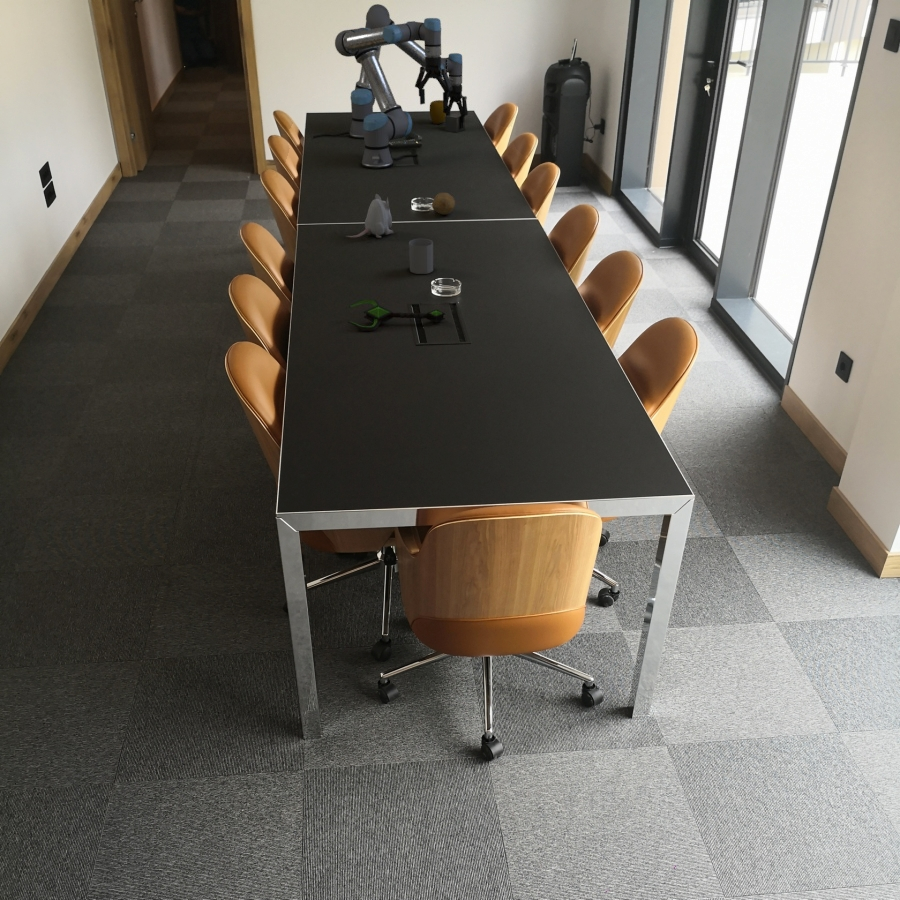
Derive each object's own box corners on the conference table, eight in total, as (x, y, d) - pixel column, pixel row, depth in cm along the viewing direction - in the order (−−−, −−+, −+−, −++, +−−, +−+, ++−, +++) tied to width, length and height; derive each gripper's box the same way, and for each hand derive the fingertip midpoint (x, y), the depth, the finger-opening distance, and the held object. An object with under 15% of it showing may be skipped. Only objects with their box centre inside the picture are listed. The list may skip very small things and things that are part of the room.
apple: (448, 125, 501) (448, 101, 494) (429, 125, 501) (429, 101, 494) (448, 121, 510) (448, 98, 504) (430, 121, 511) (429, 97, 504)
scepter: (445, 294, 271) (348, 292, 269) (446, 325, 264) (347, 323, 262) (443, 307, 276) (349, 305, 274) (445, 338, 269) (347, 336, 267)
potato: (453, 208, 369) (453, 189, 365) (456, 218, 357) (456, 199, 353) (431, 208, 368) (430, 189, 364) (432, 218, 356) (432, 199, 352)
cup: (409, 265, 311) (408, 238, 306) (432, 265, 312) (431, 238, 307) (410, 274, 304) (409, 246, 299) (433, 273, 305) (433, 246, 299)
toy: (399, 233, 341) (398, 195, 333) (354, 248, 327) (351, 208, 319) (383, 228, 346) (382, 190, 338) (338, 242, 332) (335, 203, 324)
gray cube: (453, 128, 496) (453, 113, 492) (465, 129, 493) (465, 114, 488) (445, 130, 490) (445, 115, 486) (456, 132, 487) (456, 117, 482)
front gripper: (406, 55, 398) (408, 103, 409) (450, 59, 385) (450, 109, 397) (416, 53, 403) (418, 101, 414) (460, 57, 390) (460, 107, 402)
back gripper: (436, 83, 481) (436, 126, 493) (467, 87, 471) (466, 130, 483) (443, 81, 486) (443, 123, 498) (474, 85, 476) (474, 128, 488)
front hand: (433, 105), depth 406 cm, fingers open, 13 cm apart
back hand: (455, 127), depth 491 cm, fingers closed on gray cube, 8 cm apart
